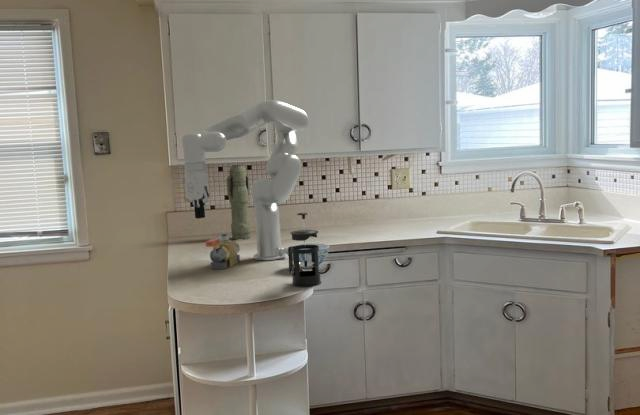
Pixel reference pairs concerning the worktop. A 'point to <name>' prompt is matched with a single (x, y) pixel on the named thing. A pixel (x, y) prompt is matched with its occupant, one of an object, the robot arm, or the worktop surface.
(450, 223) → the worktop surface
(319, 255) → the chinaware
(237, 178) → the green piece
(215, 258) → the ball valve
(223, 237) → the valve lever
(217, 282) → the worktop surface
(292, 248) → the french press
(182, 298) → the worktop surface
